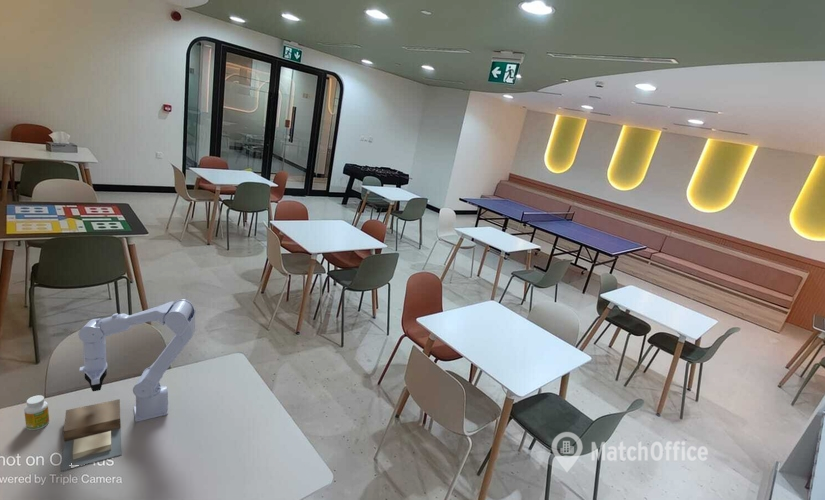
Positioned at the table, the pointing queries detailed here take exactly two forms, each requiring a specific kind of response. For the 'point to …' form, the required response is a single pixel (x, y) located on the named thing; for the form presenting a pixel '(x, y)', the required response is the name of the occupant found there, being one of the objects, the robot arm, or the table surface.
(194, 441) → the table surface
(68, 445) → the slate mat
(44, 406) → the supplement bottle
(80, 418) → the walnut deck
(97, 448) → the birch tile
